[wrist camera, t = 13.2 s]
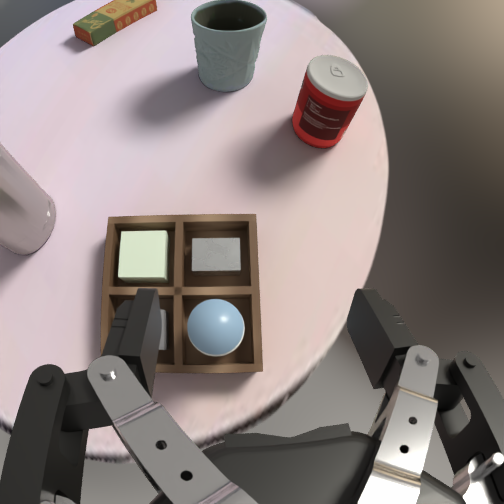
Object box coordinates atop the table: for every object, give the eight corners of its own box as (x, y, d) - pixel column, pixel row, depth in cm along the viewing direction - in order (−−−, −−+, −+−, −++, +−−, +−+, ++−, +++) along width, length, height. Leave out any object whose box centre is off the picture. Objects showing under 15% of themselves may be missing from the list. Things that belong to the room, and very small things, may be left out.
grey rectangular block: (193, 276, 35) (191, 270, 33) (194, 245, 36) (192, 238, 34) (239, 275, 36) (240, 270, 33) (238, 245, 37) (239, 237, 34)
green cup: (190, 93, 43) (185, 31, 32) (198, 54, 46) (196, -3, 35) (257, 96, 44) (267, 34, 33) (258, 57, 47) (266, 0, 36)
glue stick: (194, 354, 33) (185, 357, 24) (194, 309, 34) (184, 296, 25) (240, 353, 33) (247, 356, 24) (239, 309, 35) (245, 296, 26)
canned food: (328, 105, 45) (350, 53, 35) (350, 146, 43) (380, 96, 33) (282, 110, 44) (297, 55, 33) (303, 154, 42) (324, 100, 31)
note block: (126, 282, 34) (118, 277, 31) (128, 240, 36) (121, 231, 33) (168, 283, 35) (164, 277, 32) (170, 239, 36) (165, 230, 33)
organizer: (112, 367, 32) (101, 368, 29) (117, 228, 37) (108, 216, 33) (259, 369, 33) (262, 371, 30) (253, 225, 38) (256, 214, 35)
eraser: (125, 348, 32) (116, 347, 29) (125, 312, 33) (116, 308, 30) (168, 349, 33) (164, 349, 30) (168, 312, 34) (163, 309, 31)
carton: (157, 11, 51) (156, -4, 47) (94, 48, 47) (88, 32, 42) (136, 3, 52) (134, -11, 48) (76, 38, 48) (70, 23, 43)
